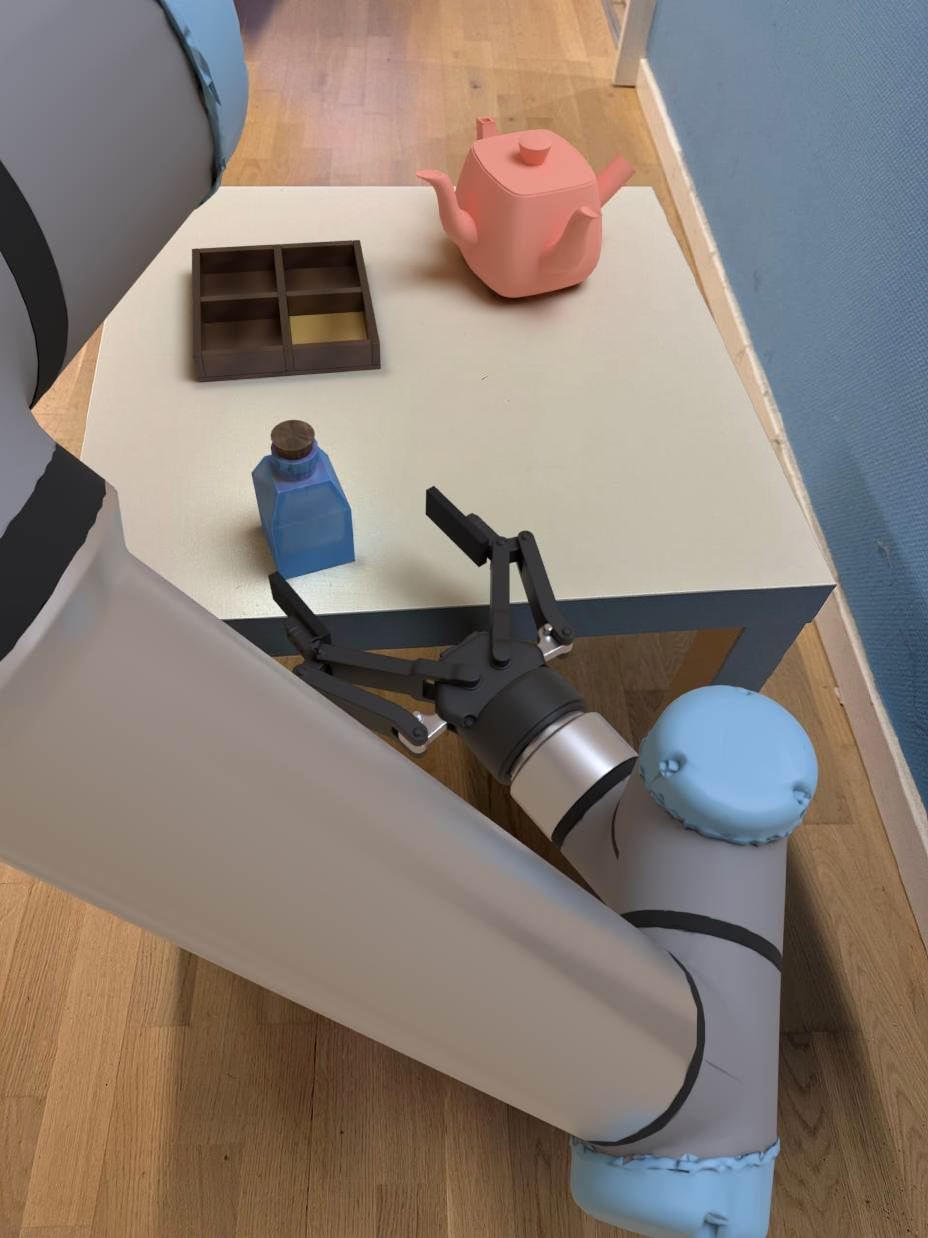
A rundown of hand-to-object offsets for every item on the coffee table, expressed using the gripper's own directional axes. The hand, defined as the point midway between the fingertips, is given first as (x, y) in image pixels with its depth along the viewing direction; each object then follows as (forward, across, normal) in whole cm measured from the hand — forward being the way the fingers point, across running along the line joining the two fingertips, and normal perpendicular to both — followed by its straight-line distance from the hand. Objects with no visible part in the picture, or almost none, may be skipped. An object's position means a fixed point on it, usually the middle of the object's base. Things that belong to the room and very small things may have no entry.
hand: (355, 540), depth 65 cm
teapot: (+26, +40, -7) cm, 49 cm away
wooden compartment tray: (+34, +14, -7) cm, 37 cm away
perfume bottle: (+7, 0, -7) cm, 10 cm away
